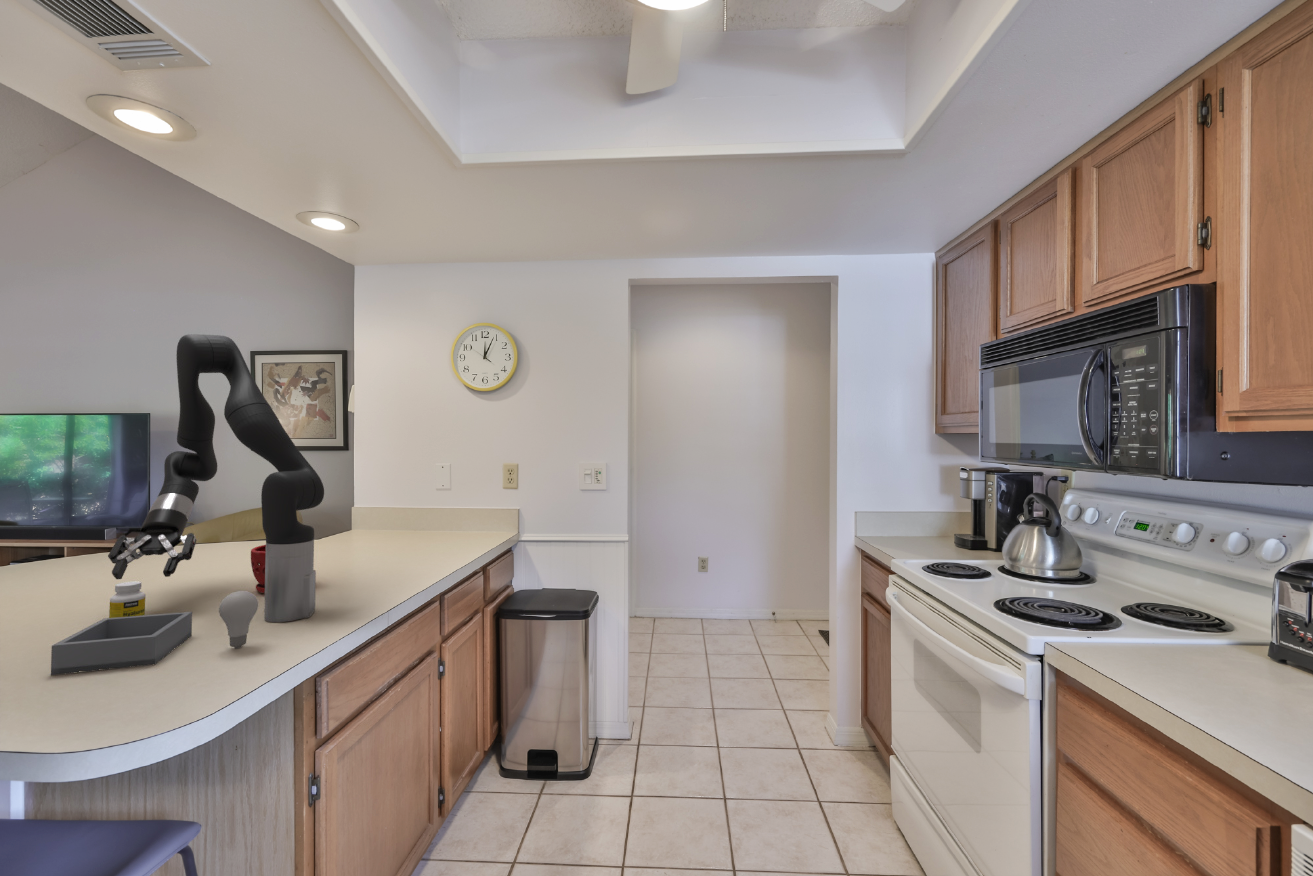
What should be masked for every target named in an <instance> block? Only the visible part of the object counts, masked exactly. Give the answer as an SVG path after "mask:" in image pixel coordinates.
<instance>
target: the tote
mask: <svg viewBox="0 0 1313 876" xmlns="http://www.w3.org/2000/svg"><path fill="white" fill-rule="evenodd" d="M192 628H193V611H184V612H172V613H171V612H170V613H160V614H157V613H156V614H145V615H143V616H130V617H117V618H109V617H108V618H107V617H106V618H102V619H100V620H98V621H96V622H94V623H93V624H91V625H88V626H87V627H85V628H82V629H81V630H78V631H77V632H75V633H73V634H71V635H69V636H68V637H65V638H64V639H62V640H60V641H58V642H56V643H54V644H52V645H51V654H50V655H51V656H50V657H51V658H50V659H51V660H50V661H51V662H50V675H51V676H56V675H57V676H58V675H66V674H67V675H68V674H75V673H74V672H77V673H80V672H79V671H86V672H93V671H92V670H96V671H100V670H99V669H106V670H110V669H109V668H115V669H123V667H124V668H132V666H135V667H142V666H143V667H144V666H151V665H152V666H153V664H154V665H156V664H157V663H159V662H160V661H161V660H162V658H165V657H166V656H168V655H169V654H170V653H172V652H173V651H174V650H175V649H174V648H176V647H177V646H178V647H180V646H181V645H182V644H183V643H185V642H186V641H187V640H189V639H190V638H191V637H192V634H193V632H192V631H193V629H192ZM188 638H189V639H188ZM184 641H185V642H184ZM180 644H181V645H180ZM178 647H177V648H178ZM177 648H176V649H177ZM172 650H173V651H172ZM171 651H172V652H171ZM169 652H170V653H169ZM167 654H168V655H167ZM159 660H160V661H159ZM158 661H159V662H158ZM130 666H131V667H130ZM65 673H66V674H65Z"/></svg>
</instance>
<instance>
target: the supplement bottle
mask: <svg viewBox="0 0 1313 876" xmlns="http://www.w3.org/2000/svg"><path fill="white" fill-rule="evenodd" d="M141 589H142V582H141V581H139V580H138V581H135V580H134V581H133V580H132V581H125V582H120V583H116V584H115V586H114V592H115V594H113V595H112V596H111V597H110V598H109V615H108V616H109V617H108V618H117V617H130V616H143V615H146V614H145V612H146V593H145V592H144V591H141Z"/></svg>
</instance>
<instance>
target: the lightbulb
mask: <svg viewBox="0 0 1313 876" xmlns="http://www.w3.org/2000/svg"><path fill="white" fill-rule="evenodd" d="M258 608H259V601H258V598H257V596H256V595H255V594H254V593H253V592H250V591H246V590H237V591H233V592H231V593H229V594H228V595H226V596H225V597H224V598H223V599H222V600H221V602H220V604H219V607H218V613H219V617H220V618H221V620H222V621H223V623H224V624H225V626H226V629H227V635H228V638H229V646H230V647H231V648H234V649H240V648H242V647H243V646H245V645H246V644H247V639H248V638H247V636H248V635H247V634H248V633H249V631H250V624H251V622H252V619H253V618H254V617H255V615H256V613H257V611H258Z"/></svg>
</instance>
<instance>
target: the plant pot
mask: <svg viewBox="0 0 1313 876" xmlns="http://www.w3.org/2000/svg"><path fill="white" fill-rule="evenodd" d="M265 560H266V544H262V545H258V546H256V547H253V548H251V549H250V565H251V566H250V567H251V569H252V574H253V576H254V579H255V580H256V582H257V584H256V585H255V590H256V591H257V592H259V593H262V594H265Z"/></svg>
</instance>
